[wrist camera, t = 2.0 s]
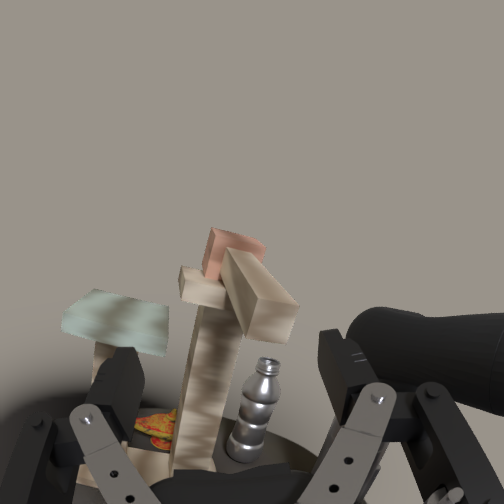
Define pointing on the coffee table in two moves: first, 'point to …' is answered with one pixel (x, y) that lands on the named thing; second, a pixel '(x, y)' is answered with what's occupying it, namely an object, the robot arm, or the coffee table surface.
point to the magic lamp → (158, 428)
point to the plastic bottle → (255, 411)
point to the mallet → (250, 286)
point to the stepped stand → (155, 342)
